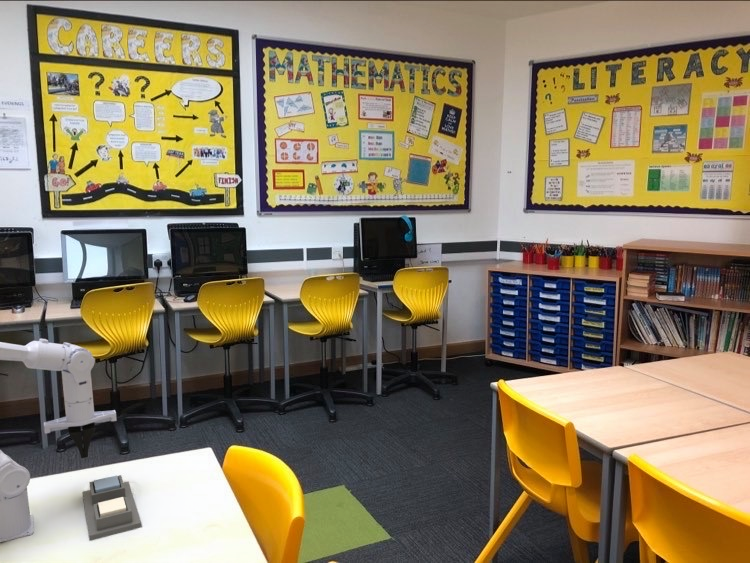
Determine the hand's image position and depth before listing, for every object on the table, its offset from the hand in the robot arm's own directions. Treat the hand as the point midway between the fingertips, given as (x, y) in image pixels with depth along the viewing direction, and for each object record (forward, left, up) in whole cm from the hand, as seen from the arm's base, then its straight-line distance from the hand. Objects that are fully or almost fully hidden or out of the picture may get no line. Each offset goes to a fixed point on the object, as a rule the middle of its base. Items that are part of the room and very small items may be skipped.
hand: (84, 456), depth 140 cm
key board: (+4, -8, -10) cm, 14 cm away
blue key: (+4, -3, -8) cm, 10 cm away
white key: (+4, -13, -8) cm, 16 cm away
